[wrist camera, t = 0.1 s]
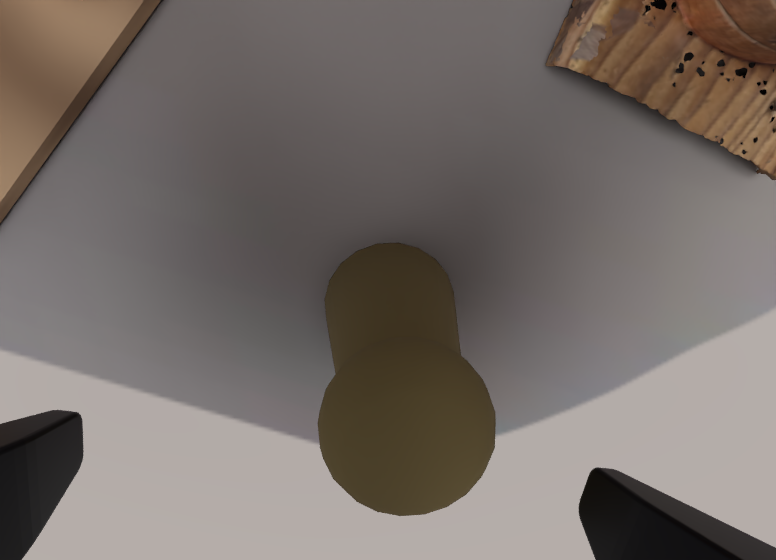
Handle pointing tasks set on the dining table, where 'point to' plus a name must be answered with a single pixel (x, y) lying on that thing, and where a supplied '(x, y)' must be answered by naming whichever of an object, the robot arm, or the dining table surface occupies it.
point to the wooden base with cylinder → (53, 74)
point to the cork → (401, 386)
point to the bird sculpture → (666, 51)
